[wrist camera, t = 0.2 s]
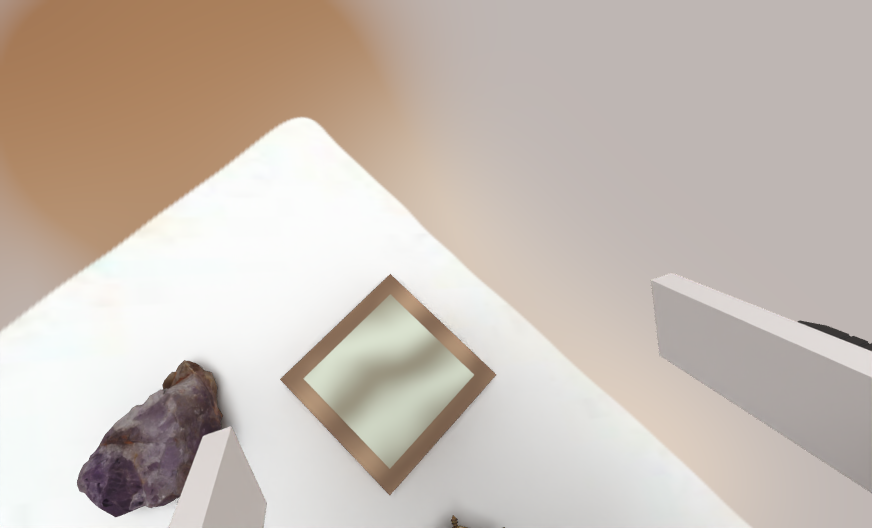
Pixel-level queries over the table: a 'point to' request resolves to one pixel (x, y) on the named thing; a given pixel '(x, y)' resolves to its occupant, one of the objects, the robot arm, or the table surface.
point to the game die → (454, 522)
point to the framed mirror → (388, 382)
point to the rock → (153, 445)
